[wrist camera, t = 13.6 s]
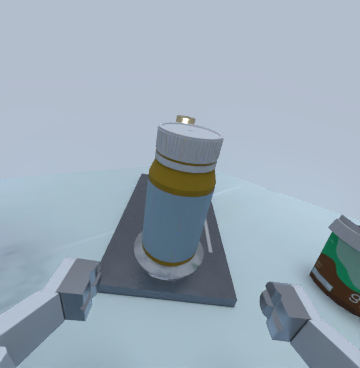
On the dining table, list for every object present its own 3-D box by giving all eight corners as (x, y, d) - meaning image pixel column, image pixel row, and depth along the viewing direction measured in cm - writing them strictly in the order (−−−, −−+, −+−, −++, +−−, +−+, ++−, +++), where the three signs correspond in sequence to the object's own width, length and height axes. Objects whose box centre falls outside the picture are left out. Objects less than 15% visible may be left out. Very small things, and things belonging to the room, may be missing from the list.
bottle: (167, 221, 29) (185, 120, 22) (205, 248, 25) (240, 137, 18) (129, 244, 24) (137, 121, 17) (170, 282, 20) (201, 144, 13)
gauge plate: (91, 291, 19) (80, 143, 12) (141, 178, 43) (147, 107, 36) (233, 306, 20) (296, 178, 13) (205, 188, 44) (222, 120, 37)
